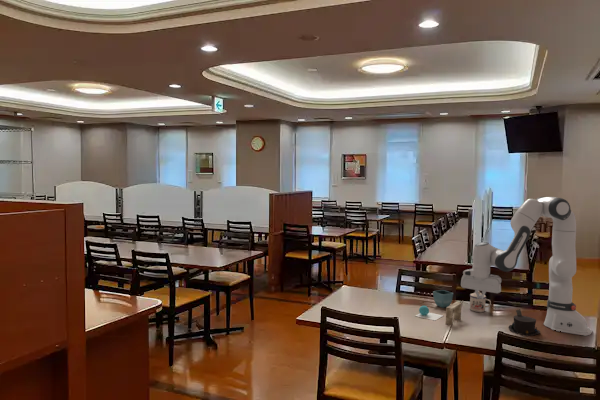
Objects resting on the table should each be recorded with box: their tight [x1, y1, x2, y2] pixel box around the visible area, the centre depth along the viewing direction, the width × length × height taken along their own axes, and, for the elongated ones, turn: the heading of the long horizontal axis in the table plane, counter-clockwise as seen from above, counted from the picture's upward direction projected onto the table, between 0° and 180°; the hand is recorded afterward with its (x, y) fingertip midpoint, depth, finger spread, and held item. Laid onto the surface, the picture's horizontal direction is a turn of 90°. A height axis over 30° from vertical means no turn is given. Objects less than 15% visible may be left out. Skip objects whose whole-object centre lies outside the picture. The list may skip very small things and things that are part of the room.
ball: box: [418, 305, 430, 315], centre depth 265 cm, size 6×6×6 cm
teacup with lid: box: [469, 290, 492, 313], centre depth 277 cm, size 12×9×12 cm
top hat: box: [508, 309, 541, 337], centre depth 242 cm, size 15×15×10 cm
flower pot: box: [432, 289, 454, 309], centre depth 283 cm, size 9×9×9 cm
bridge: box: [445, 301, 462, 326], centre depth 255 cm, size 3×14×9 cm, turn 141°
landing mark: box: [414, 311, 444, 322], centre depth 264 cm, size 12×12×1 cm
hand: (480, 298), depth 247 cm, fingers closed
